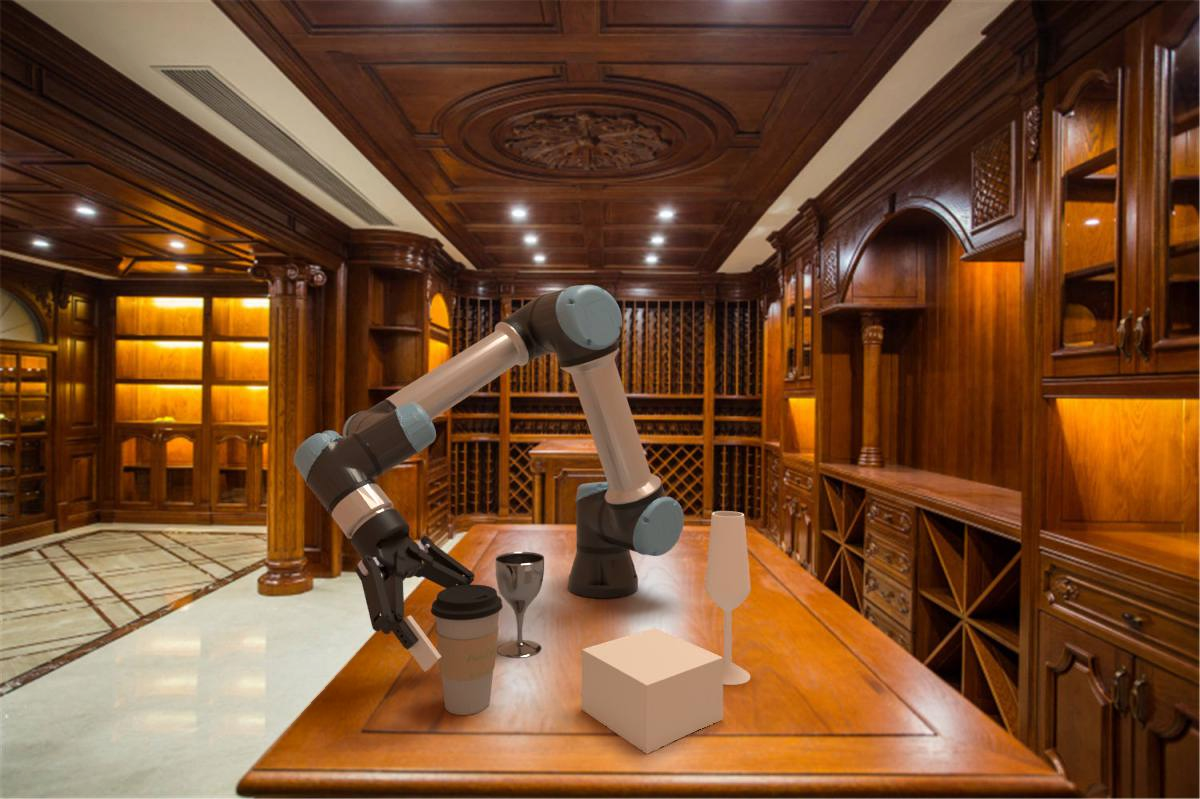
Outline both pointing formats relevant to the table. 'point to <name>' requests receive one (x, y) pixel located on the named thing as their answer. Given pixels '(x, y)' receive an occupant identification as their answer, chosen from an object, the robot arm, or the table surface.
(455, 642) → the coffee cup
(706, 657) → the riser
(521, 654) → the wine glass
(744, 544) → the champagne flute
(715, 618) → the table surface
